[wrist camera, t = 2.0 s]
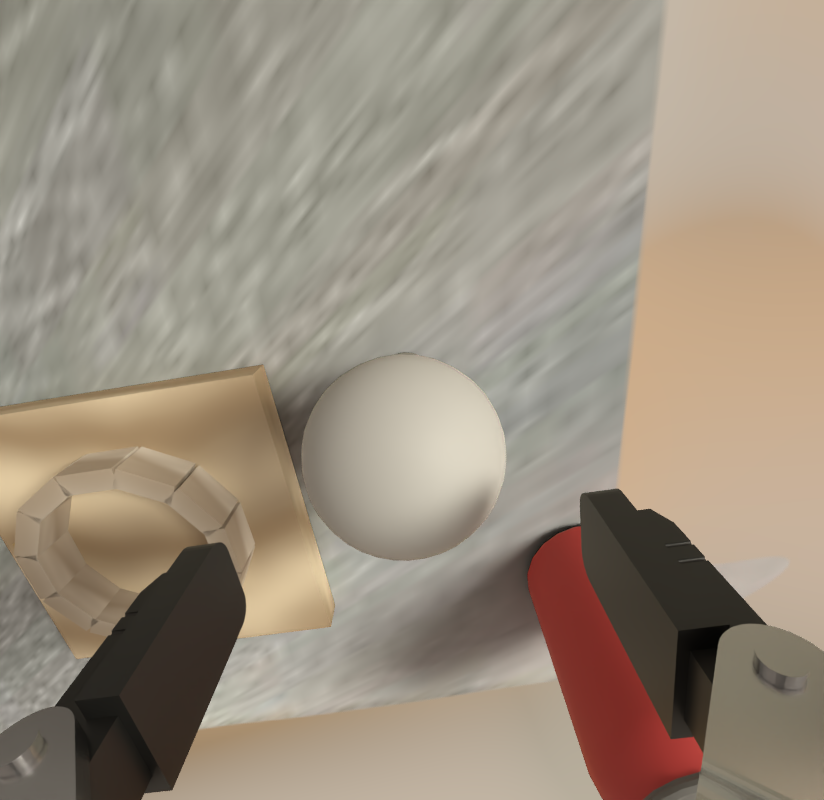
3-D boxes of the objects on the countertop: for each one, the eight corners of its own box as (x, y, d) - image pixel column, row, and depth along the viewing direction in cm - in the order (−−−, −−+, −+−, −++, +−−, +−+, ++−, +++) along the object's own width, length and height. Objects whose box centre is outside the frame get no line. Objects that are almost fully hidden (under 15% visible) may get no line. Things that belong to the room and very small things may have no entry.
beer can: (665, 555, 25) (871, 821, 14) (583, 625, 27) (706, 909, 16) (580, 497, 24) (734, 743, 12) (500, 576, 26) (571, 850, 14)
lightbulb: (472, 427, 22) (526, 604, 12) (349, 435, 22) (297, 617, 12) (469, 303, 20) (533, 388, 10) (332, 313, 20) (251, 407, 10)
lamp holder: (-37, 412, 22) (-117, 446, 18) (263, 364, 21) (236, 390, 18) (93, 636, 27) (50, 692, 24) (334, 605, 26) (324, 659, 23)
